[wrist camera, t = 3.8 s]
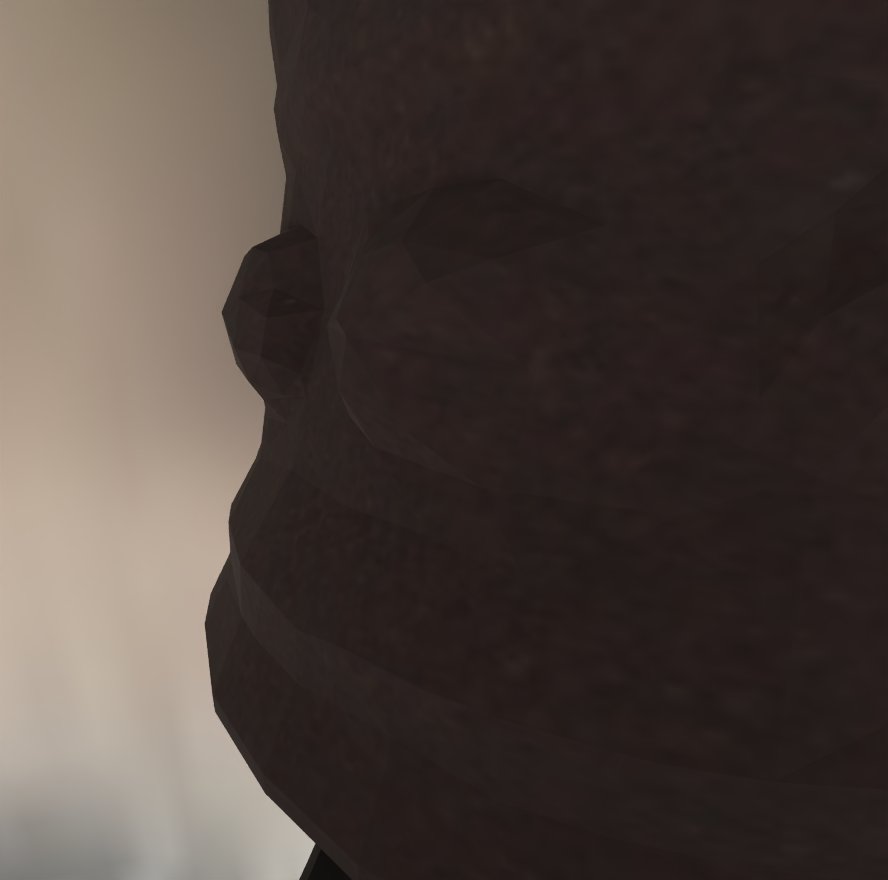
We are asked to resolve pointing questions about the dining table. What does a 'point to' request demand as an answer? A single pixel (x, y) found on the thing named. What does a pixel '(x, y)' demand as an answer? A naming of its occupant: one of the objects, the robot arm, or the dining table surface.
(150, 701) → the dining table surface
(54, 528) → the dining table surface
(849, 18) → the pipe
